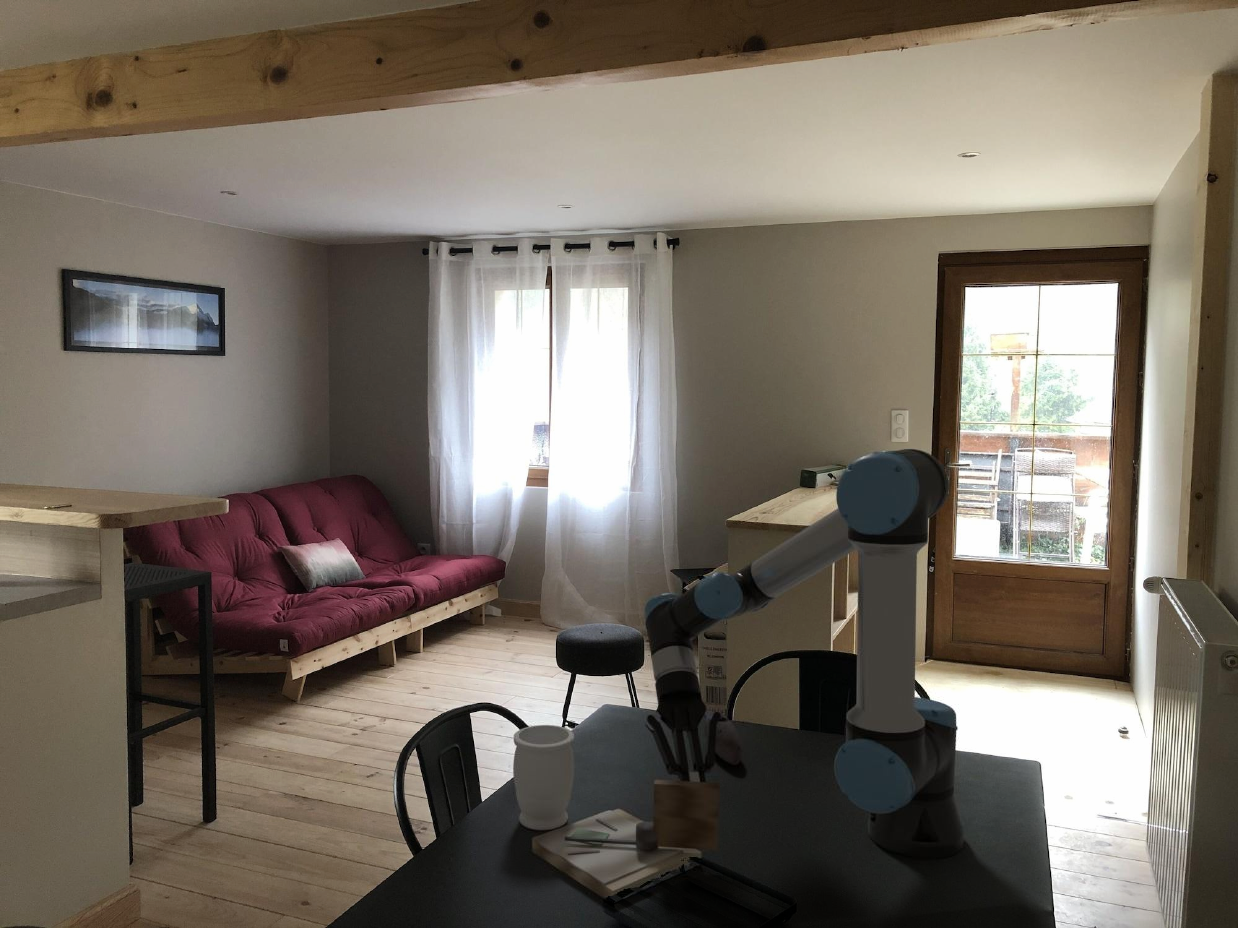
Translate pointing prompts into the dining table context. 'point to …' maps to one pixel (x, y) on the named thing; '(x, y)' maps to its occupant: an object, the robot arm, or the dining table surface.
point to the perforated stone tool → (727, 741)
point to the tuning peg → (677, 818)
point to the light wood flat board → (607, 854)
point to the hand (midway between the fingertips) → (698, 815)
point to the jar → (543, 775)
